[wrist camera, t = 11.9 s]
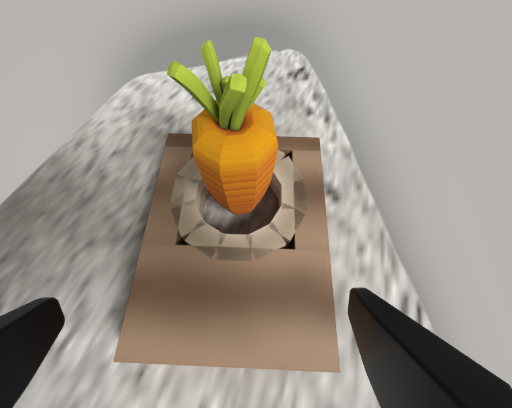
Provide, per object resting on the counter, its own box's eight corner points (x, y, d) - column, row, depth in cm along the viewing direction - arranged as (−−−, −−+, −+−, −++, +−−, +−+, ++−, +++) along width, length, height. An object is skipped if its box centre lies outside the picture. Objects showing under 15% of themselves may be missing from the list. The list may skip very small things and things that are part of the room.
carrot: (207, 227, 22) (130, 77, 8) (224, 181, 24) (187, -1, 10) (260, 241, 21) (276, 107, 7) (273, 193, 23) (304, 18, 10)
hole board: (326, 363, 17) (340, 372, 15) (135, 354, 18) (113, 361, 15) (312, 157, 25) (319, 137, 22) (178, 152, 25) (168, 133, 22)
